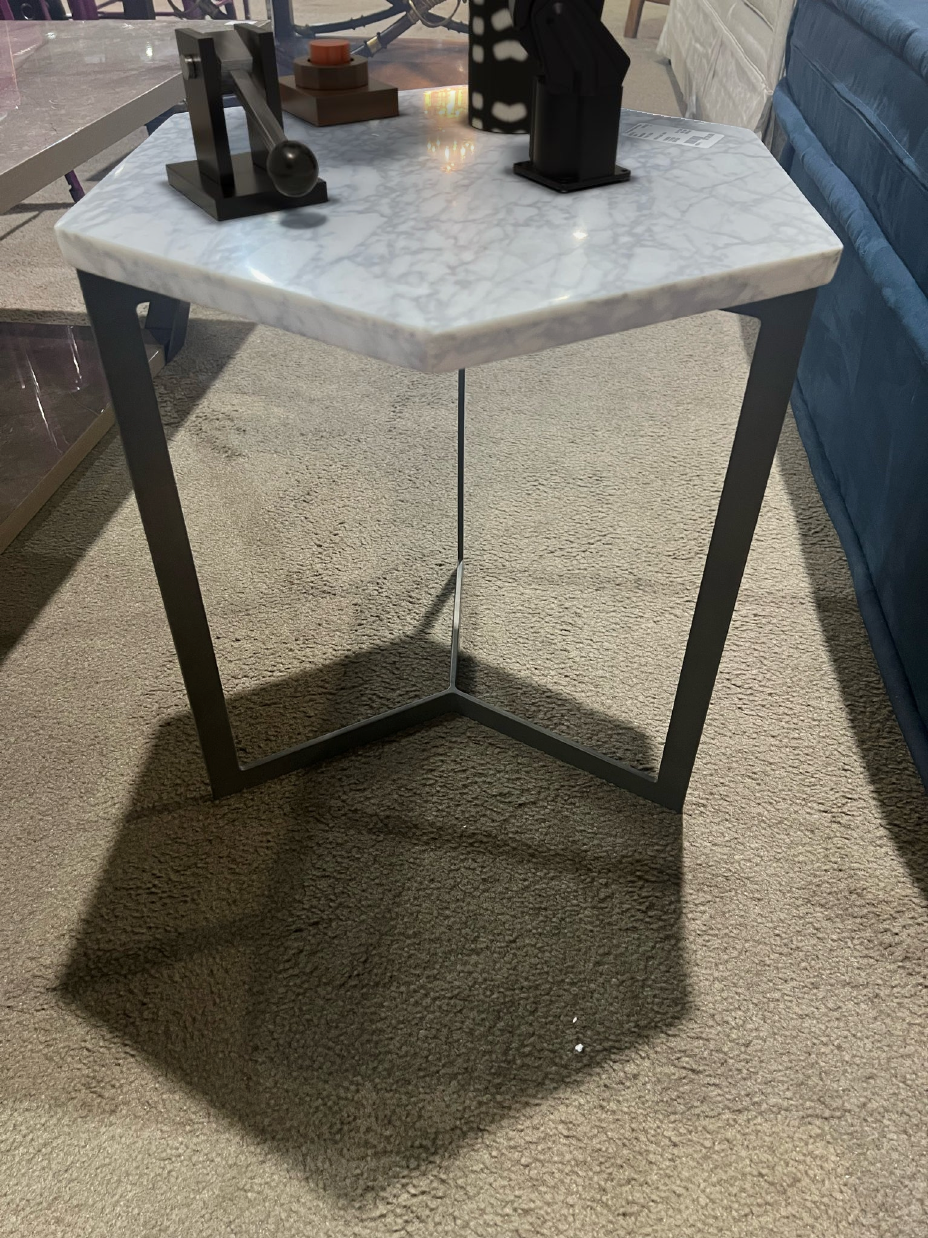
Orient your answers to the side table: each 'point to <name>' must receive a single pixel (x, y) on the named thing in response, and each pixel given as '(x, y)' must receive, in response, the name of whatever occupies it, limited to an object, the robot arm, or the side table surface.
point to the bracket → (217, 173)
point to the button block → (336, 92)
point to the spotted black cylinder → (498, 70)
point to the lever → (263, 118)
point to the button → (329, 51)
